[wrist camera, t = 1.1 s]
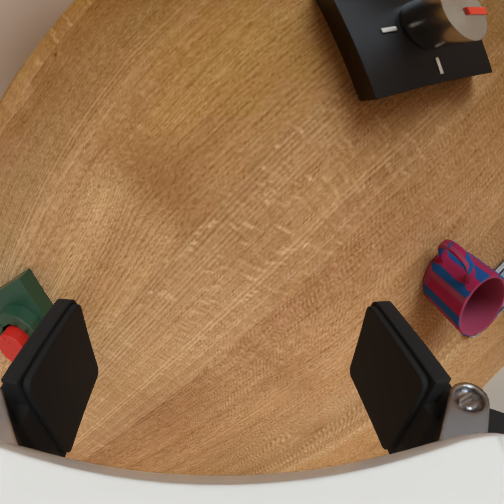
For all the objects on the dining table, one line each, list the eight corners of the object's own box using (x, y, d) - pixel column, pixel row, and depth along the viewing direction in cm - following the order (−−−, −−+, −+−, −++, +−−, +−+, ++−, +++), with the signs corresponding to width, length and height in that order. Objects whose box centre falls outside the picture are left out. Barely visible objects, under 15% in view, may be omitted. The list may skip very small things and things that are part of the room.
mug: (429, 312, 31) (462, 348, 25) (406, 242, 28) (447, 274, 21) (472, 280, 30) (507, 309, 24) (455, 208, 27) (501, 231, 20)
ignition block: (-10, 293, 26) (-28, 312, 22) (29, 267, 25) (9, 287, 21) (40, 362, 30) (27, 384, 26) (84, 346, 29) (71, 371, 25)
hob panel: (359, 101, 22) (376, 99, 19) (311, -6, 18) (323, -21, 16) (472, 73, 21) (493, 72, 18) (436, -17, 17) (454, -26, 14)
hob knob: (413, 53, 18) (460, 42, 13) (391, 3, 16) (432, -20, 11) (451, 47, 18) (497, 39, 12) (431, 0, 16) (474, -17, 11)
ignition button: (0, 330, 23) (-8, 340, 22) (18, 320, 23) (9, 331, 22) (20, 357, 25) (14, 367, 23) (39, 349, 25) (32, 361, 23)
